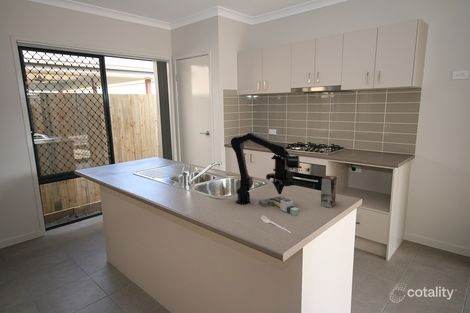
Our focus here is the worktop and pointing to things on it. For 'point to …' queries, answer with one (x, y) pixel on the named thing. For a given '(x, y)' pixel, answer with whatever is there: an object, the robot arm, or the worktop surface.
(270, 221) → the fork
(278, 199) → the cord rig
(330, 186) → the coffee box
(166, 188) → the worktop surface
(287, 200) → the grey block
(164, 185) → the worktop surface
